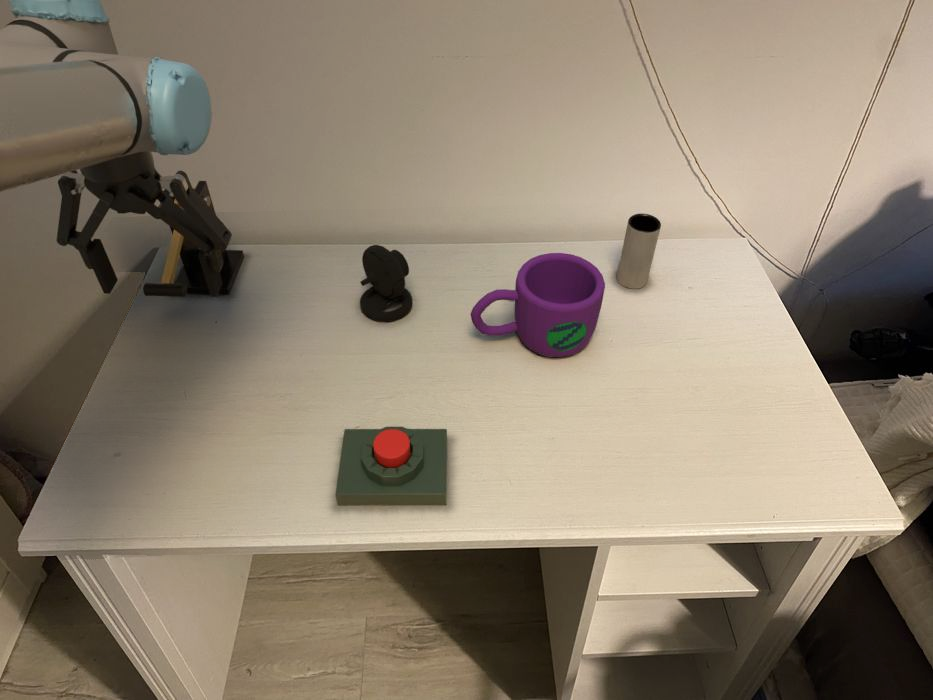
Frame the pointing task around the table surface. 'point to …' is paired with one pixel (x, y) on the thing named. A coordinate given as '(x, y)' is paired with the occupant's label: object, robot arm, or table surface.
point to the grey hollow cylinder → (638, 250)
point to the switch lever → (169, 272)
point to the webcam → (384, 283)
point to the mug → (550, 304)
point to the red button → (391, 448)
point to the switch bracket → (191, 263)
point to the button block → (393, 470)
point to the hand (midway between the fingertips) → (164, 288)
